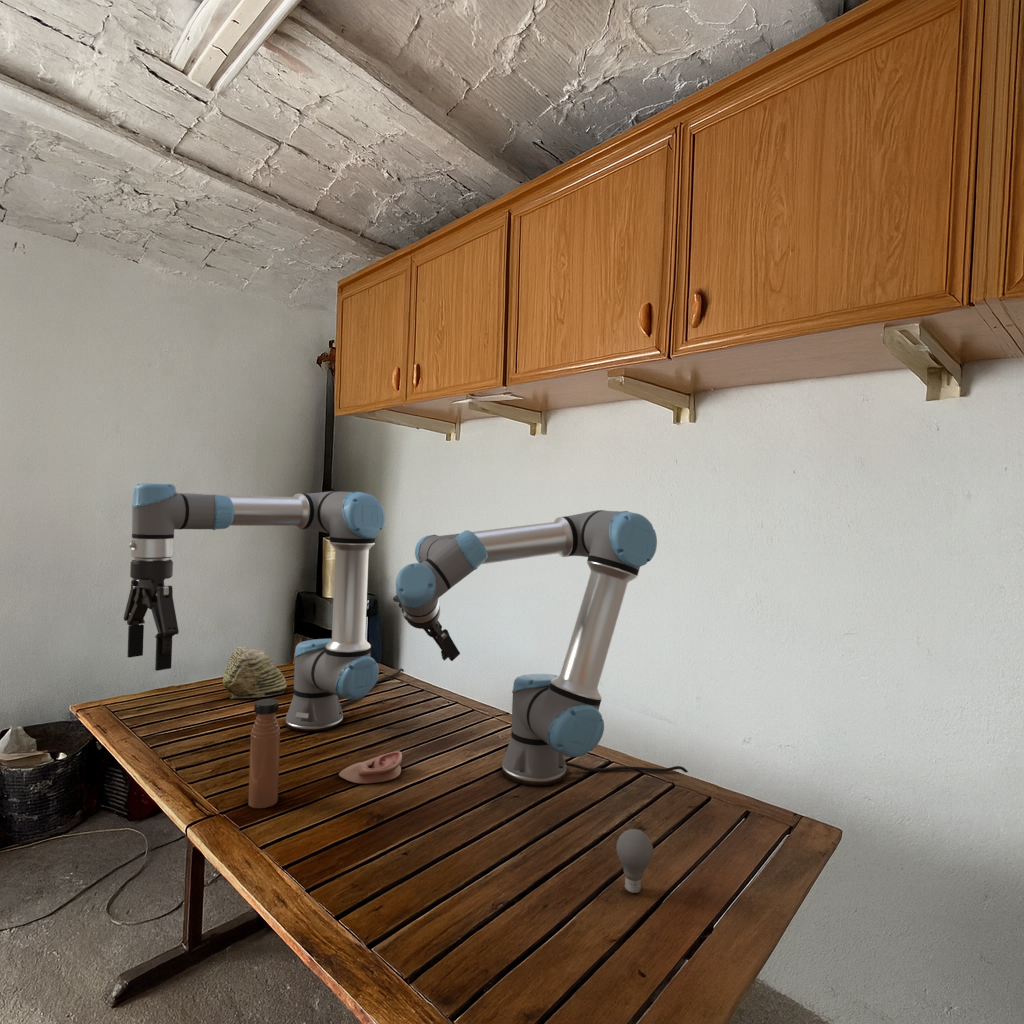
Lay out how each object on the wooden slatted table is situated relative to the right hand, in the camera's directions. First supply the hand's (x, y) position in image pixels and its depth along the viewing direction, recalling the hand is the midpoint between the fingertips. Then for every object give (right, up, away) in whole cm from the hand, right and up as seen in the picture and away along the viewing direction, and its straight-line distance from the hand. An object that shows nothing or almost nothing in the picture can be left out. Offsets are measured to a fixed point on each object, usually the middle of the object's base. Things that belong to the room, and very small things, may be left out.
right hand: (428, 635), depth 150 cm
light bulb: (+40, -34, -45) cm, 69 cm away
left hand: (-54, -2, -21) cm, 58 cm away
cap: (-31, -10, -20) cm, 38 cm away
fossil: (-61, -28, +48) cm, 82 cm away
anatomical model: (-13, -31, -5) cm, 34 cm away
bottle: (-32, -31, -20) cm, 48 cm away
